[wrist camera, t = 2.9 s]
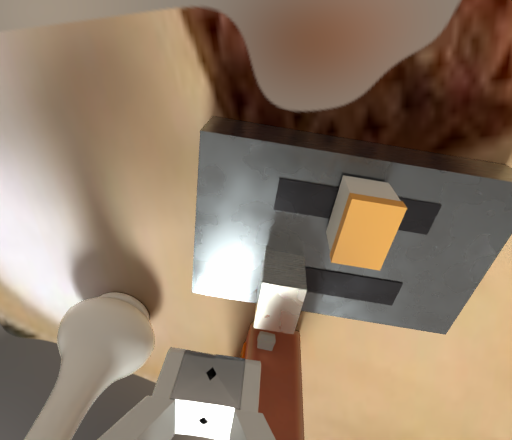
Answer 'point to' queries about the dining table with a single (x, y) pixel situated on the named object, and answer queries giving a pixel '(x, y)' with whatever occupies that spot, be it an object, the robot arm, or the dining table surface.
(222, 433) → the robot arm
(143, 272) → the dining table surface
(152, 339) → the flower vase
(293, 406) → the orange retro radio
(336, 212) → the block
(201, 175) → the box
